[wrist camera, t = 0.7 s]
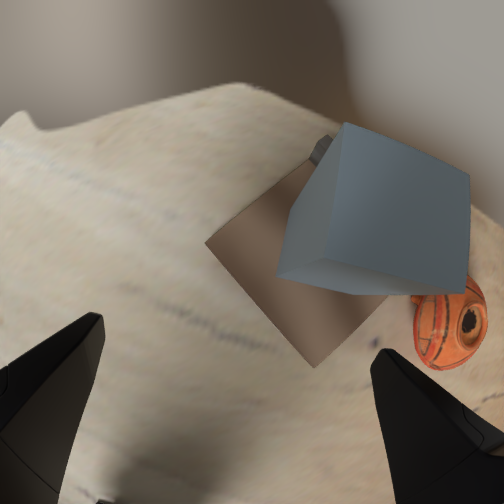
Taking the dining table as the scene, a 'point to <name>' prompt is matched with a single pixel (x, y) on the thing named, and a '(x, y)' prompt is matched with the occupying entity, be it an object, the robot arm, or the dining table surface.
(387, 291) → the blue-grey carton
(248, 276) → the plate
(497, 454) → the robot arm
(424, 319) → the pot
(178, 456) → the dining table surface
